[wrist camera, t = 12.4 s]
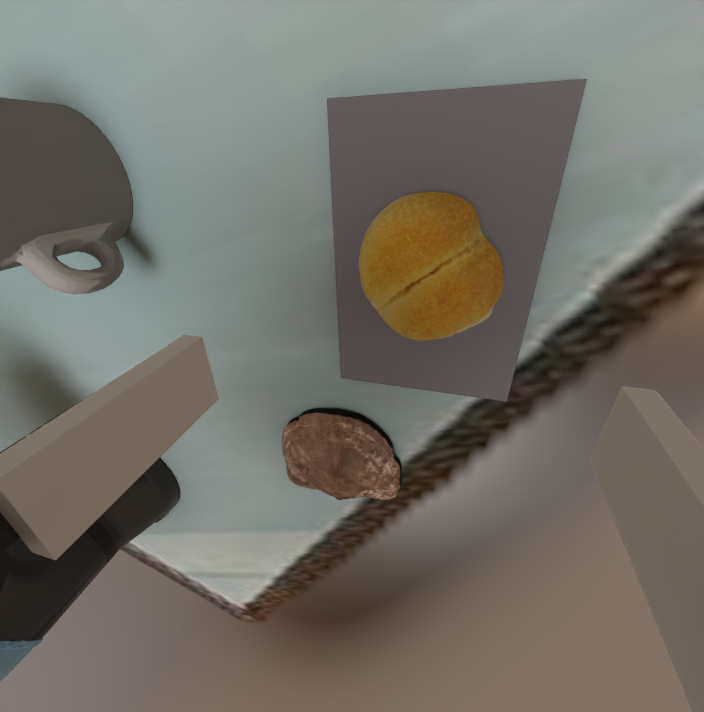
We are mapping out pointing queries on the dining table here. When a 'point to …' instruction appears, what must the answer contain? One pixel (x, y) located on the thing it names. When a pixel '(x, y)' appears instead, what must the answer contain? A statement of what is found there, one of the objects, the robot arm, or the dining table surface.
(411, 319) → the bread roll
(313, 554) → the dining table surface
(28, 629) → the robot arm
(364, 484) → the shell
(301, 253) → the dining table surface
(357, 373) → the mat
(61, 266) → the coffee mug
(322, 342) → the dining table surface
